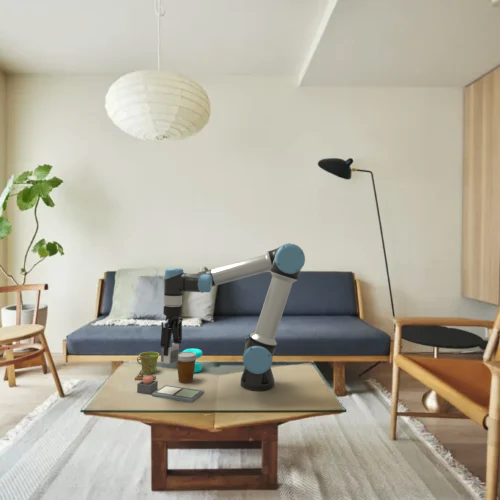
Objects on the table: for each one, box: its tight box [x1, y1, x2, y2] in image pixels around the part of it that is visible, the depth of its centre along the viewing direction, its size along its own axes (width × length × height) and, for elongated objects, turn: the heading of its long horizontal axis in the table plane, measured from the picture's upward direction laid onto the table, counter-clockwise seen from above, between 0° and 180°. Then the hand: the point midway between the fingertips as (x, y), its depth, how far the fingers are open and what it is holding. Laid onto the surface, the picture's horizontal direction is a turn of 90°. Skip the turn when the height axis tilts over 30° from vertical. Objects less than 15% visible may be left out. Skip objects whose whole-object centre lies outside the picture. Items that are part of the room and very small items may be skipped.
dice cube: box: [160, 346, 180, 365], centre depth 163 cm, size 5×5×5 cm
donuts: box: [182, 347, 204, 374], centre depth 193 cm, size 10×10×10 cm
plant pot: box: [138, 351, 160, 375], centre depth 189 cm, size 9×9×9 cm
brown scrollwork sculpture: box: [134, 352, 157, 381], centre depth 179 cm, size 9×4×12 cm, turn 88°
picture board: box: [151, 384, 205, 403], centre depth 161 cm, size 18×11×1 cm, turn 71°
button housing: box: [136, 380, 159, 395], centre depth 165 cm, size 6×6×4 cm
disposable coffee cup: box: [176, 351, 198, 384], centre depth 178 cm, size 10×10×12 cm
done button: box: [143, 375, 154, 385], centre depth 165 cm, size 4×4×4 cm
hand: (170, 360), depth 163 cm, fingers closed on dice cube, 6 cm apart
